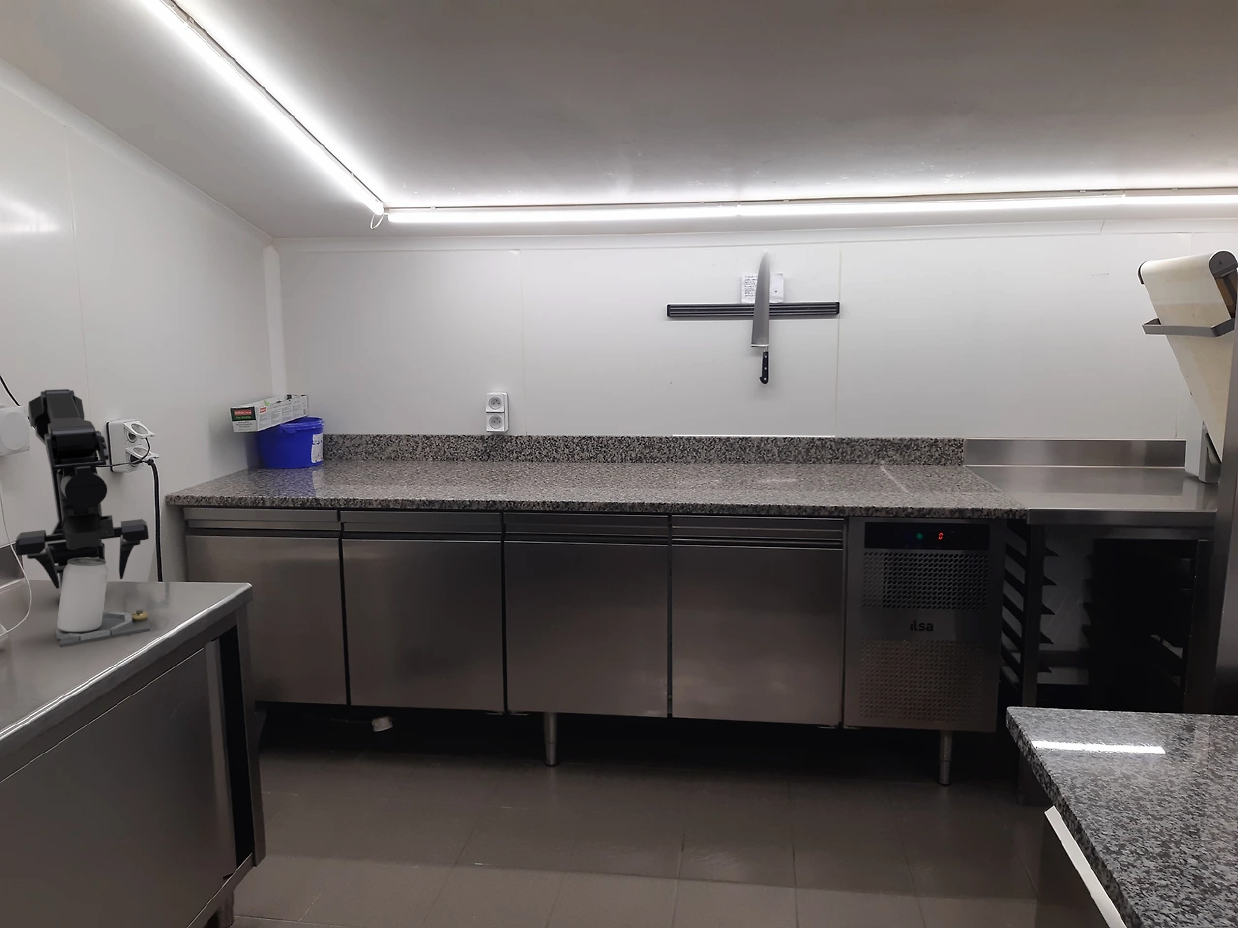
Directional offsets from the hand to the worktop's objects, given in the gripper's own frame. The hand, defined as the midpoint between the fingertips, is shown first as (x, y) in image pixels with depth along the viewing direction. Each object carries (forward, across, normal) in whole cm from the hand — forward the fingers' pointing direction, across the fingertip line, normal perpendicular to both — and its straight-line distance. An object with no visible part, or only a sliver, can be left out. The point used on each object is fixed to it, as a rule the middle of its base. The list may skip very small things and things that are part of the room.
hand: (90, 583), depth 132 cm
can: (+8, -2, 0) cm, 8 cm away
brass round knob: (+9, +7, 0) cm, 11 cm away
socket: (+9, 0, 0) cm, 9 cm away
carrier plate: (+9, +2, 0) cm, 9 cm away
